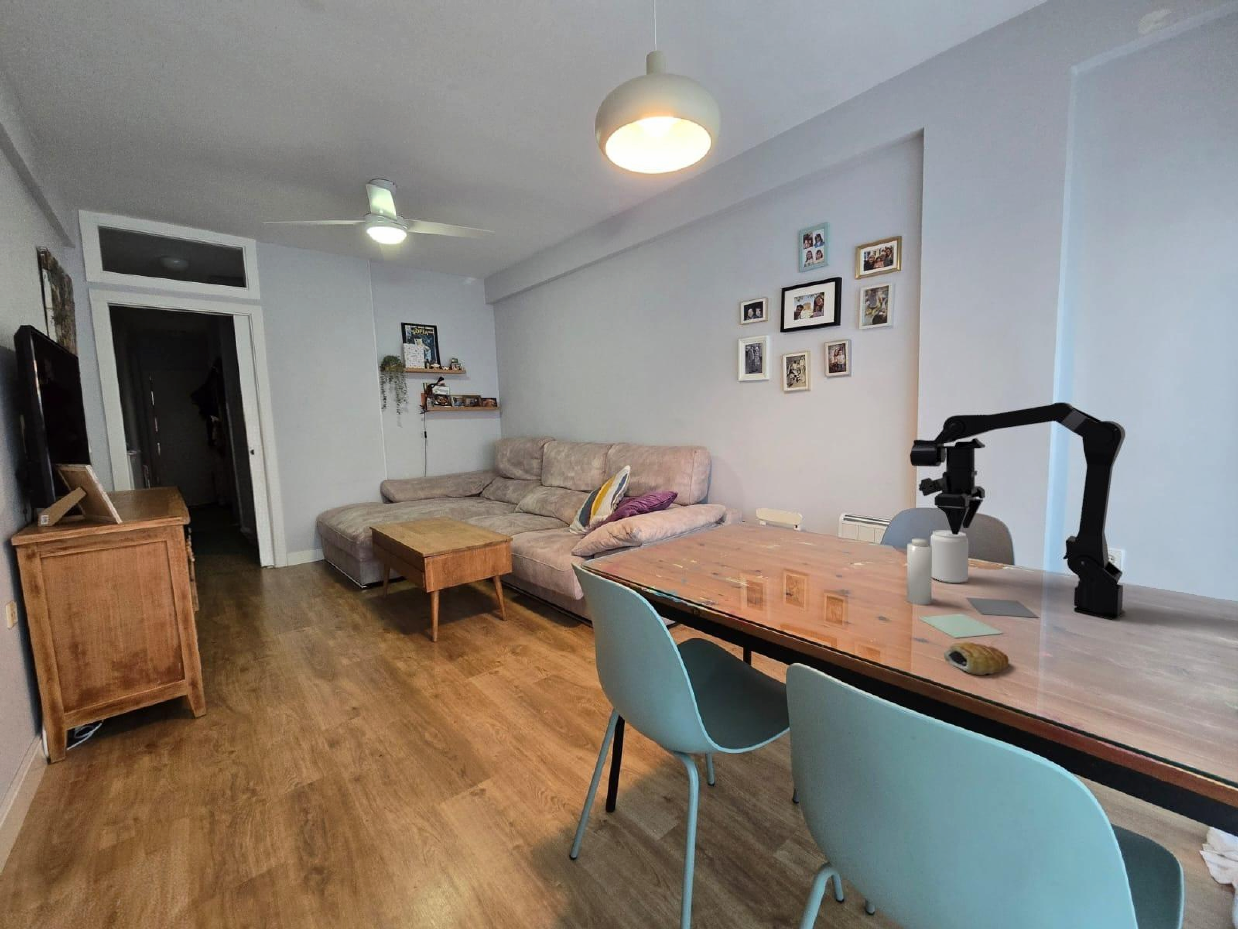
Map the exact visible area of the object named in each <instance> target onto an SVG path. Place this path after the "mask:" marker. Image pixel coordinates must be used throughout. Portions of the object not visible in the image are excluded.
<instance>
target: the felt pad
mask: <svg viewBox="0 0 1238 929" xmlns="http://www.w3.org/2000/svg"><path fill="white" fill-rule="evenodd" d="M965 599H966V600H967V601H968V602H969V604H971V605H972V607H974V609H976V610H977V611H978V612H979V614H981V615H985V616H987V615H988V616H1002V617H1018V618H1032V619H1039V618H1040V617H1039V616H1038V615H1037V614H1035V613H1034V612H1033V611H1032V610H1030V609H1029V608H1028V607H1027V606H1025V605H1024V604H1023V603H1021V602H1020V601H1019V600H1014V599H1011V600H1010V599H996V598H994V599H993V598H981V597H980V598H979V597H965Z"/></svg>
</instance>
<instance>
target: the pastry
mask: <svg viewBox="0 0 1238 929" xmlns="http://www.w3.org/2000/svg"><path fill="white" fill-rule="evenodd" d="M943 657H944V659H945V661H946V662H947V661H948V662H947V663H948V664H949V665H951V664H952V665H954V666H953V667H954V668H957V667H958V669H960V670H962V671H963V672H965V671H966V673H968V674H972V675H975V674H978V675H977V676H979V675H980V676H981V675H982V676H985V675H986V674H990V675H993V674H996V673H1000V672H1001V671H1004V670H1006V669H1007V668H1008V666H1009V663H1010V662H1009V661H1010V660H1009V656H1008V655H1007V654H1005V653H1004V652H1003V651H1001V650H999V649H998V648H997V647H993V646H987V645H984V644H979V643H975V642H974V643H973V642H967V641H963V643H962V642H961V643H959V642H955V643H954V644H952V645H950V646H949V647H948V648H947V649H946V650H945V652H943ZM952 665H951V666H952Z"/></svg>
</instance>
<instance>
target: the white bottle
mask: <svg viewBox="0 0 1238 929" xmlns="http://www.w3.org/2000/svg"><path fill="white" fill-rule="evenodd" d="M906 545H907V546H906V547H907V548H906V550H907V551H906V552H907V553H906V555H907V558H906V563H907V564H906V565H907V566H906V569H907V570H906V571H907V572H906V601H907V602H908V603H909V604H910V603H911V604H914V605H918V606H919V605H920V606H927V605H932V590H933V589H932V585H933V584H932V579H933V577H932V546H931V544H930V543H929V544H928V540H927V539H925V538H924V539H923V538H912V539H911V542H910V543H909V542H908V543H907V544H906Z"/></svg>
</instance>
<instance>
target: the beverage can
mask: <svg viewBox="0 0 1238 929" xmlns="http://www.w3.org/2000/svg"><path fill="white" fill-rule="evenodd" d="M930 545H931V546H932V579H935V580H936V579H937V580H936V581H938V580H939V581H938V582H942V583H947V582H948V584H960V583H963V582H966V581H968V580H969V538H968V537H967V534H966V533H965V532H961V531H959V533H958V534H957V535H955V534H952V531H951V530H941V529H940V530H933V531H932V535H931V536H930Z"/></svg>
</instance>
